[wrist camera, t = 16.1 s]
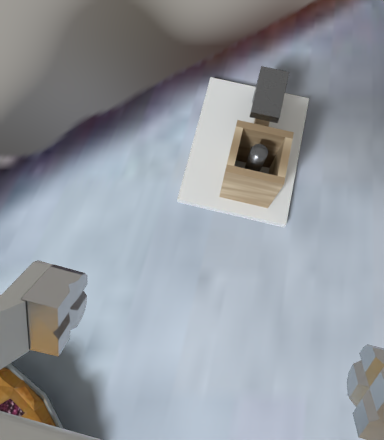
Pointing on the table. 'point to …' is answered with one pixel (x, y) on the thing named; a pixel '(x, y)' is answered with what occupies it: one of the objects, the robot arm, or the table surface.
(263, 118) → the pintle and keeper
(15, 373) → the pie
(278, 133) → the wooden pencil holder
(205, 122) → the base plate
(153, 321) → the table surface
